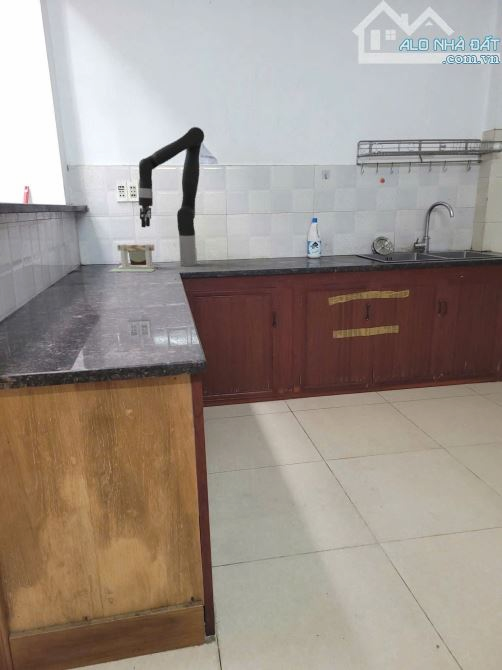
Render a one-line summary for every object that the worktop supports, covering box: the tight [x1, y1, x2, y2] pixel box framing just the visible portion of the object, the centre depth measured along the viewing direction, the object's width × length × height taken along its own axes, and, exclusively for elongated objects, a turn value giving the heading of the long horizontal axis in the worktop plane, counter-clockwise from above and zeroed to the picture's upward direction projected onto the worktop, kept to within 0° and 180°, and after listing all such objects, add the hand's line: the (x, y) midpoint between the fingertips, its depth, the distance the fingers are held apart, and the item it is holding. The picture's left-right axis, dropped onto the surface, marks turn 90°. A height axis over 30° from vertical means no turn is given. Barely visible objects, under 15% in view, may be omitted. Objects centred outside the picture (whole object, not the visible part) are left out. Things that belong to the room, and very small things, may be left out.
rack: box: [117, 243, 157, 269], centre depth 266 cm, size 20×7×13 cm, turn 87°
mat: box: [107, 268, 156, 273], centre depth 259 cm, size 24×8×1 cm, turn 87°
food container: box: [127, 251, 146, 265], centre depth 278 cm, size 12×6×10 cm, turn 84°
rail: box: [117, 244, 155, 252], centre depth 265 cm, size 20×3×3 cm, turn 87°
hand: (145, 226), depth 266 cm, fingers open, 8 cm apart
